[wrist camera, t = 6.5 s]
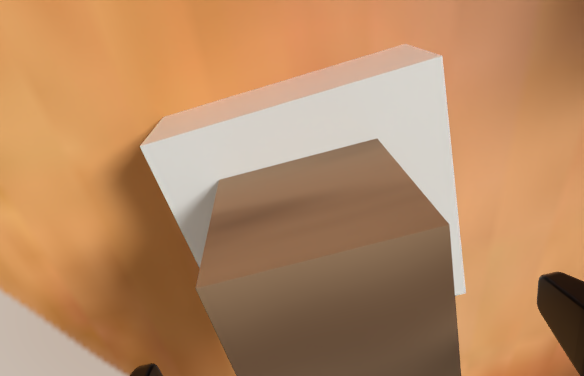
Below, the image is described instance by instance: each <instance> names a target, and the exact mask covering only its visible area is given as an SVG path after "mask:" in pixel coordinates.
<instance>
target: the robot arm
mask: <svg viewBox="0 0 584 376" xmlns="http://www.w3.org/2000/svg"><path fill="white" fill-rule="evenodd" d="M537 306H538V309H539V311H540V313H541V315H542V316H543V318H544V319H545V321H546V323H547V324H548V326H549V327H550V329H551V331H552V332H553V334H554V335H555V337H556V339H557V340H558V342H559V343H560V345H561V346H562V348H563V350H564V351H565V353H566V354H567V356H568V358H569V359H570V361H571V362H572V364H573V365H574V367H575V368H576V370H577V371H578V373H579V374H580V376H584V282H583V281H581V280H579V279H576V278H574V277H572V276H569V275H567V274H565V273H562V272H554V273H549V274H545V275H542V276H540V278H539V281H538V294H537ZM130 376H163V375H162V373H161V371H160V370H159V368H158V366H157V365H156V364H147V365H143V366H139V367H137V368H136V369H135V370H134V371H133V372H132V373H131V375H130Z"/></svg>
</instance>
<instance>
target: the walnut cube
mask: <svg viewBox="0 0 584 376" xmlns="http://www.w3.org/2000/svg"><path fill="white" fill-rule="evenodd" d="M195 289H196V291H197V293H198V295H199V297H200V299H201V301H202V304H203V306H204V308H205V310H206V312H207V314H208V316H209V318H210V320H211V323H212V325H213V327H214V329H215V331H216V333H217V335H218V337H219V340H220V342H221V344H222V346H223V348H224V350H225V352H226V354H227V357H228V359H229V361H230V363H231V365H232V367H233V369H234V371H235V374H236V376H461V368H460V355H459V342H458V329H457V316H456V303H455V290H454V277H453V264H452V251H451V238H450V225H449V223H448V222H447V221H446V220H445V219H444V217H443V216H442V215H441V214H440V213H439V211H438V210H437V209H436V208H435V207H434V206H433V204H432V203H431V202H430V201H429V200H428V198H427V197H426V196H425V195H424V194H423V192H422V191H421V190H420V189H419V188H418V186H417V185H416V184H415V183H414V182H413V180H412V179H411V178H410V177H409V176H408V174H407V173H406V172H405V171H404V170H403V168H402V167H401V166H400V165H399V164H398V163H397V161H396V160H395V159H394V158H393V157H392V155H391V154H390V153H389V152H388V151H387V149H386V148H385V147H384V146H383V145H382V143H381V142H380V141H379V140H378V139H373V140H369V141H365V142H361V143H357V144H354V145H350V146H346V147H342V148H338V149H335V150H331V151H327V152H323V153H319V154H315V155H312V156H308V157H304V158H300V159H296V160H293V161H289V162H285V163H281V164H277V165H274V166H270V167H266V168H262V169H258V170H255V171H251V172H247V173H243V174H239V175H236V176H232V177H228V178H224V179H220V180H219V182H218V187H217V191H216V196H215V200H214V205H213V210H212V214H211V219H210V224H209V228H208V233H207V237H206V242H205V247H204V251H203V256H202V260H201V265H200V270H199V274H198V279H197V284H196V288H195Z"/></svg>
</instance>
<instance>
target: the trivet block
mask: <svg viewBox="0 0 584 376" xmlns="http://www.w3.org/2000/svg"><path fill="white" fill-rule="evenodd" d="M373 139H378V140H379V141H380V142H381V143H382V145H383V146H384V147H385V148H386V149H387V151H388V152H389V153H390V154H391V155H392V157H393V158H394V159H395V160H396V161H397V163H398V164H399V165H400V166H401V167H402V168H403V170H404V171H405V172H406V173H407V174H408V176H409V177H410V178H411V179H412V180H413V182H414V183H415V184H416V185H417V186H418V188H419V189H420V190H421V191H422V192H423V194H424V195H425V196H426V197H427V198H428V200H429V201H430V202H431V203H432V204H433V206H434V207H435V208H436V209H437V210H438V211H439V213H440V214H441V215H442V216H443V217H444V219H445V220H446V221H447V222H448V223H449V225H450V238H451V251H452V264H453V277H454V290H455V296H457V295H460V294H464V293H466V289H465V279H464V269H463V259H462V249H461V239H460V229H459V219H458V209H457V199H456V189H455V179H454V169H453V159H452V149H451V139H450V129H449V119H448V109H447V99H446V89H445V79H444V69H443V59H442V56H441V55H438V54H435V53H432V52H429V51H426V50H423V49H420V48H417V47H414V46H411V45H408V44H403V45H399V46H396V47H393V48H389V49H386V50H383V51H379V52H376V53H373V54H370V55H366V56H363V57H360V58H356V59H353V60H350V61H346V62H343V63H340V64H337V65H333V66H330V67H327V68H323V69H320V70H317V71H313V72H310V73H307V74H304V75H300V76H297V77H294V78H290V79H287V80H284V81H281V82H277V83H274V84H271V85H267V86H264V87H261V88H257V89H254V90H251V91H248V92H244V93H241V94H238V95H234V96H231V97H228V98H224V99H221V100H218V101H215V102H211V103H208V104H205V105H201V106H198V107H195V108H191V109H188V110H185V111H182V112H178V113H175V114H172V115H168V116H165V117H163V118H162V119H161V120H160V122H159V123H158V124H157V125H156V127H155V128H154V129H153V130H152V132H151V133H150V134H149V135H148V137H147V138H146V139H145V140H144V142H143V143H142V144H141V145H140V148H141V150H142V152H143V154H144V156H145V158H146V160H147V162H148V164H149V166H150V168H151V170H152V172H153V175H154V177H155V179H156V181H157V183H158V185H159V187H160V189H161V191H162V193H163V195H164V197H165V199H166V201H167V203H168V205H169V207H170V209H171V211H172V213H173V215H174V217H175V219H176V221H177V223H178V225H179V227H180V229H181V231H182V233H183V235H184V237H185V240H186V242H187V244H188V246H189V248H190V250H191V252H192V254H193V256H194V258H195V260H196V262H197V264H198V266H199V268H200V265H201V260H202V256H203V251H204V247H205V242H206V237H207V233H208V228H209V224H210V219H211V214H212V210H213V205H214V200H215V196H216V191H217V187H218V182H219V180H220V179H224V178H228V177H232V176H236V175H239V174H243V173H247V172H251V171H255V170H258V169H262V168H266V167H270V166H274V165H277V164H281V163H285V162H289V161H293V160H296V159H300V158H304V157H308V156H312V155H315V154H319V153H323V152H327V151H331V150H335V149H338V148H342V147H346V146H350V145H354V144H357V143H361V142H365V141H369V140H373Z"/></svg>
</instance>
